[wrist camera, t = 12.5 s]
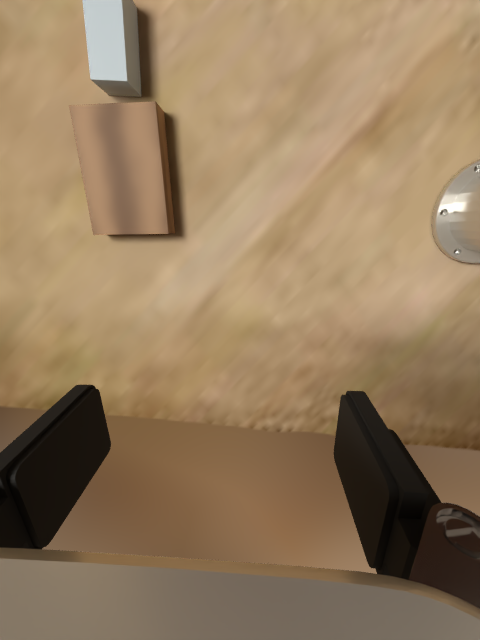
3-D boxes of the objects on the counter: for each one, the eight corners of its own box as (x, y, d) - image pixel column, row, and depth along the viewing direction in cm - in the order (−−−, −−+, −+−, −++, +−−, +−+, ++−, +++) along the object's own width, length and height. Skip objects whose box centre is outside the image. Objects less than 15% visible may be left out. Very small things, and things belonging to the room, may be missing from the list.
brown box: (164, 111, 33) (155, 101, 30) (175, 232, 37) (168, 233, 35) (84, 115, 33) (68, 105, 31) (105, 233, 38) (93, 234, 35)
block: (142, 97, 33) (137, 6, 30) (127, 81, 29) (120, -25, 26) (109, 95, 33) (102, 5, 30) (90, 79, 29) (79, -27, 26)
